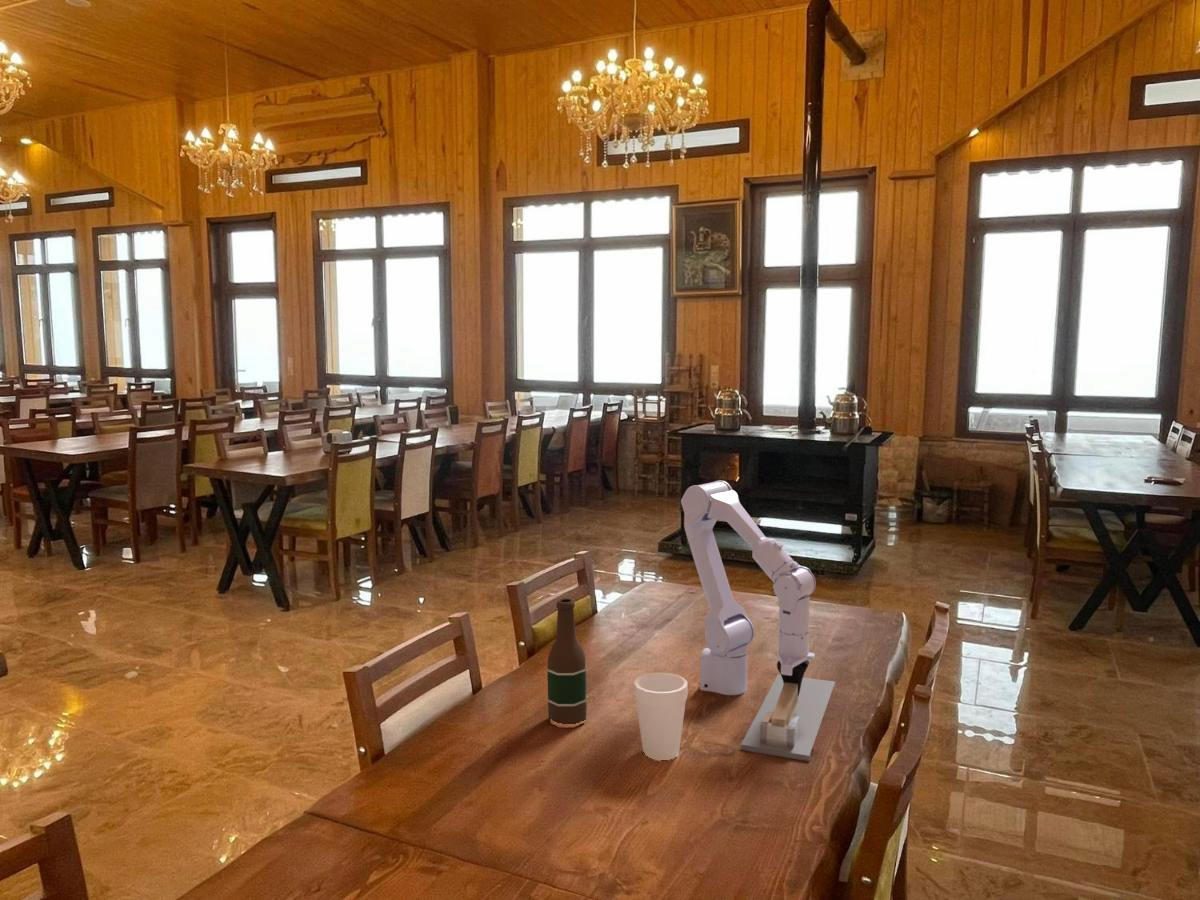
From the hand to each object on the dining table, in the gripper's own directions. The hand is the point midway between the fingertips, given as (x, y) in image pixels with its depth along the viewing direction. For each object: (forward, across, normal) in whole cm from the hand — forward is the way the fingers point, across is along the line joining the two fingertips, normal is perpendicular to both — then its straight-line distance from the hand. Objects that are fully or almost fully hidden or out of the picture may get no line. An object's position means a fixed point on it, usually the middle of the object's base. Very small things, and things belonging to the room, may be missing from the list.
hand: (792, 697), depth 167 cm
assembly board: (+3, -1, 0) cm, 3 cm away
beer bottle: (+4, -19, +40) cm, 44 cm away
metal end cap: (+2, -14, 0) cm, 14 cm away
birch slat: (+2, -8, 0) cm, 8 cm away
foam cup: (+3, -25, +19) cm, 31 cm away
